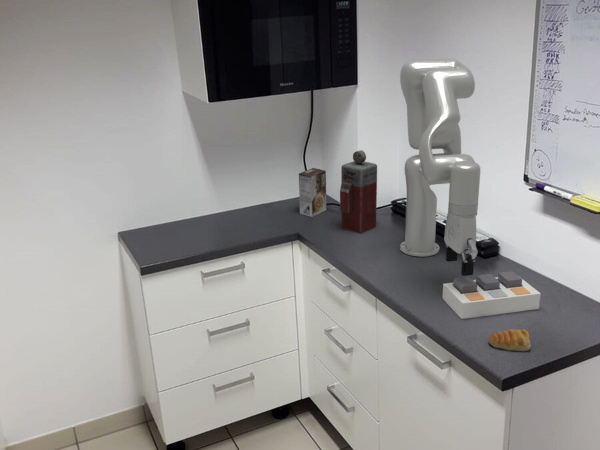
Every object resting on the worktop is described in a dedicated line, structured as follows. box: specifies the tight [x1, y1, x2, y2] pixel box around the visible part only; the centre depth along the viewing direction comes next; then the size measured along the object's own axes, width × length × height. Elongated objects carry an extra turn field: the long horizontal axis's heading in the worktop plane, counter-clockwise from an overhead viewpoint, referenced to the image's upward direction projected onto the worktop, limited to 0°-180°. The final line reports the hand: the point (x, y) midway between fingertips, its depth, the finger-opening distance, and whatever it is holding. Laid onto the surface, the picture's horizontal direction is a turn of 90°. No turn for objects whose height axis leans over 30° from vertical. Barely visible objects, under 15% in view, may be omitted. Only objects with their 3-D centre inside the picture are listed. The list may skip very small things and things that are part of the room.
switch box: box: [442, 276, 542, 320], centre depth 174 cm, size 12×22×5 cm, turn 102°
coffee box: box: [298, 167, 327, 218], centre depth 244 cm, size 9×6×16 cm
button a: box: [453, 275, 477, 294], centre depth 173 cm, size 5×4×4 cm
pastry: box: [488, 328, 532, 352], centre depth 154 cm, size 9×7×4 cm
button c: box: [497, 271, 523, 288], centre depth 176 cm, size 5×4×4 cm
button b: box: [475, 273, 500, 291], centre depth 175 cm, size 5×4×4 cm
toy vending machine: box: [339, 149, 378, 235], centre depth 225 cm, size 9×11×28 cm
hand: (459, 267), depth 176 cm, fingers open, 9 cm apart
